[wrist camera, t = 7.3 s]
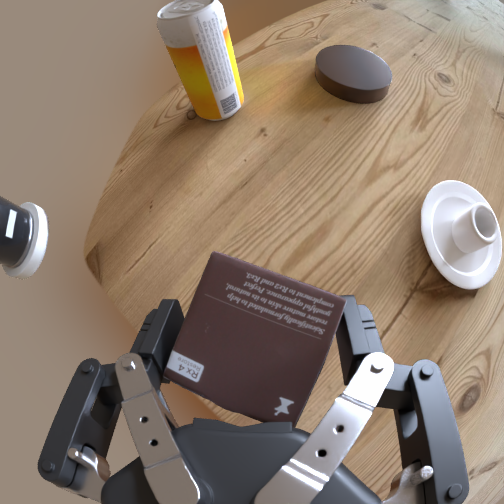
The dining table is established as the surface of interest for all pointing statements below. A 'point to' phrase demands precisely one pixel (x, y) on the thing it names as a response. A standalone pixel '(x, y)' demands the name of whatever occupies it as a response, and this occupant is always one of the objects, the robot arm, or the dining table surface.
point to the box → (254, 340)
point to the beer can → (202, 56)
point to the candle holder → (461, 234)
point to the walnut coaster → (352, 73)
